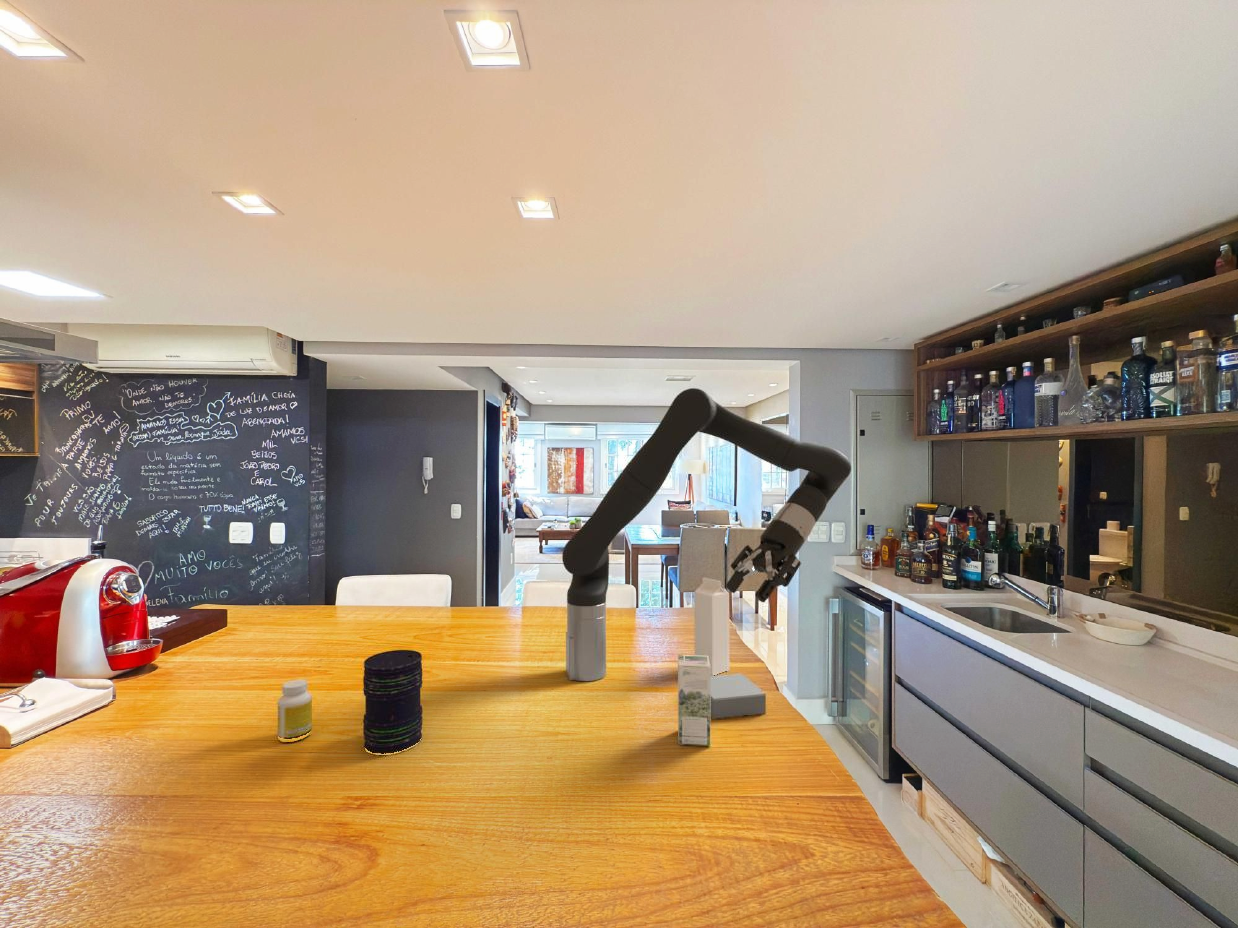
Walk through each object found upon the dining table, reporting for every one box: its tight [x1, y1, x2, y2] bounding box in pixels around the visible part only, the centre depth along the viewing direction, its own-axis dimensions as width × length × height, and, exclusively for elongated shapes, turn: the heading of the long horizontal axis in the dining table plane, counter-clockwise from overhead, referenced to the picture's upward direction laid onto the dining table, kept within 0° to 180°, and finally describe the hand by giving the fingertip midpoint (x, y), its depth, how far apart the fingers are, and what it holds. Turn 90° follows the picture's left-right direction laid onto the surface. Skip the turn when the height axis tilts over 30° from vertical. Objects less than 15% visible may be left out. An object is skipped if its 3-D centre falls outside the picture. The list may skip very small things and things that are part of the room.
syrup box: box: [677, 654, 712, 747], centre depth 100 cm, size 6×6×14 cm
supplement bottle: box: [277, 679, 313, 739], centre depth 101 cm, size 5×5×10 cm
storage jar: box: [362, 649, 424, 754], centre depth 99 cm, size 10×10×15 cm
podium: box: [710, 673, 767, 720], centre depth 114 cm, size 11×11×4 cm
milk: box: [693, 577, 730, 676], centre depth 134 cm, size 6×6×22 cm
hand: (743, 594), depth 106 cm, fingers open, 8 cm apart
